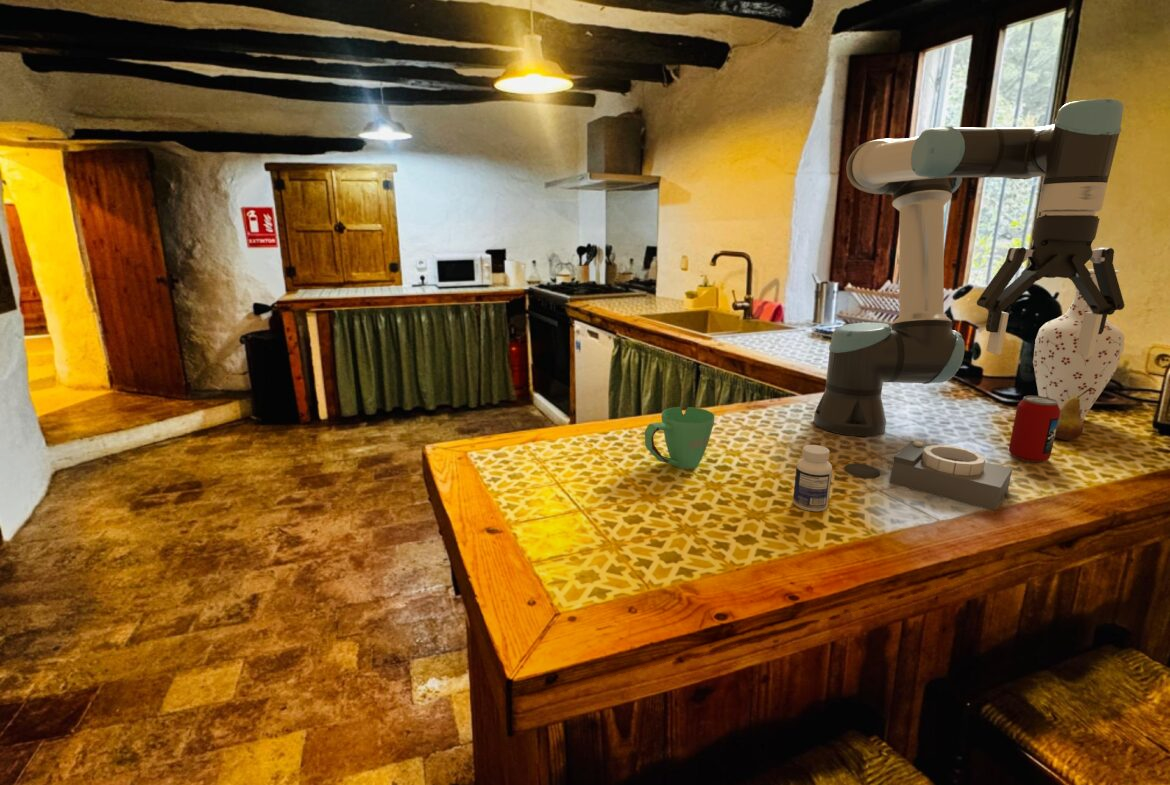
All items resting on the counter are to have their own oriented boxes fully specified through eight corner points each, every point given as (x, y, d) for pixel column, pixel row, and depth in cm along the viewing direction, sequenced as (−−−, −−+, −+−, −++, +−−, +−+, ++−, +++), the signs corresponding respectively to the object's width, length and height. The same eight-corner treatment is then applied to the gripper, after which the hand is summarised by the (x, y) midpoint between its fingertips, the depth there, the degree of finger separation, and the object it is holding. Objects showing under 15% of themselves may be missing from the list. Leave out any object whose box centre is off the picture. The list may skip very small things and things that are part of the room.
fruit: (1060, 433, 133) (1071, 381, 130) (1086, 442, 128) (1100, 388, 125) (1040, 435, 132) (1052, 382, 129) (1066, 444, 126) (1079, 389, 123)
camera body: (889, 482, 107) (894, 451, 105) (907, 465, 115) (912, 435, 113) (995, 510, 96) (1003, 475, 95) (1008, 489, 104) (1014, 457, 103)
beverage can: (1056, 465, 115) (1070, 405, 112) (1017, 462, 117) (1029, 403, 113) (1038, 452, 122) (1050, 395, 118) (1001, 450, 123) (1012, 393, 120)
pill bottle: (799, 495, 102) (805, 440, 99) (832, 504, 98) (839, 448, 96) (787, 505, 98) (793, 449, 95) (821, 515, 94) (828, 457, 92)
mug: (686, 451, 121) (689, 404, 119) (722, 467, 113) (726, 416, 111) (629, 466, 113) (630, 416, 111) (663, 484, 106) (665, 430, 103)
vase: (1005, 412, 149) (1034, 268, 140) (1046, 405, 155) (1076, 267, 146) (1078, 431, 135) (1115, 273, 125) (1120, 423, 141) (1158, 271, 131)
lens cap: (837, 471, 113) (837, 467, 112) (856, 465, 116) (857, 461, 115) (866, 482, 108) (867, 478, 107) (886, 475, 111) (886, 471, 111)
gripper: (994, 213, 87) (968, 356, 93) (1179, 214, 85) (1141, 360, 91) (967, 214, 94) (944, 347, 100) (1137, 215, 92) (1104, 350, 98)
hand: (1038, 353), depth 95 cm, fingers open, 13 cm apart
